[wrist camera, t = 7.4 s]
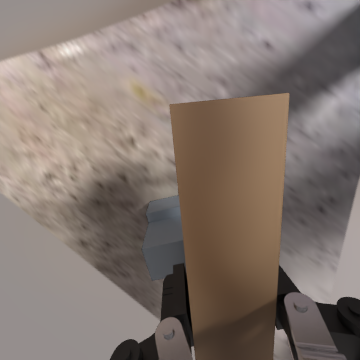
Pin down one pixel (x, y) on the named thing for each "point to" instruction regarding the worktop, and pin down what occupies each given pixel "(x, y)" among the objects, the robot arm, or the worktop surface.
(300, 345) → the robot arm
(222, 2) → the worktop surface
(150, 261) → the ridge
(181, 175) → the walnut bar
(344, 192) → the worktop surface
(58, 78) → the worktop surface
